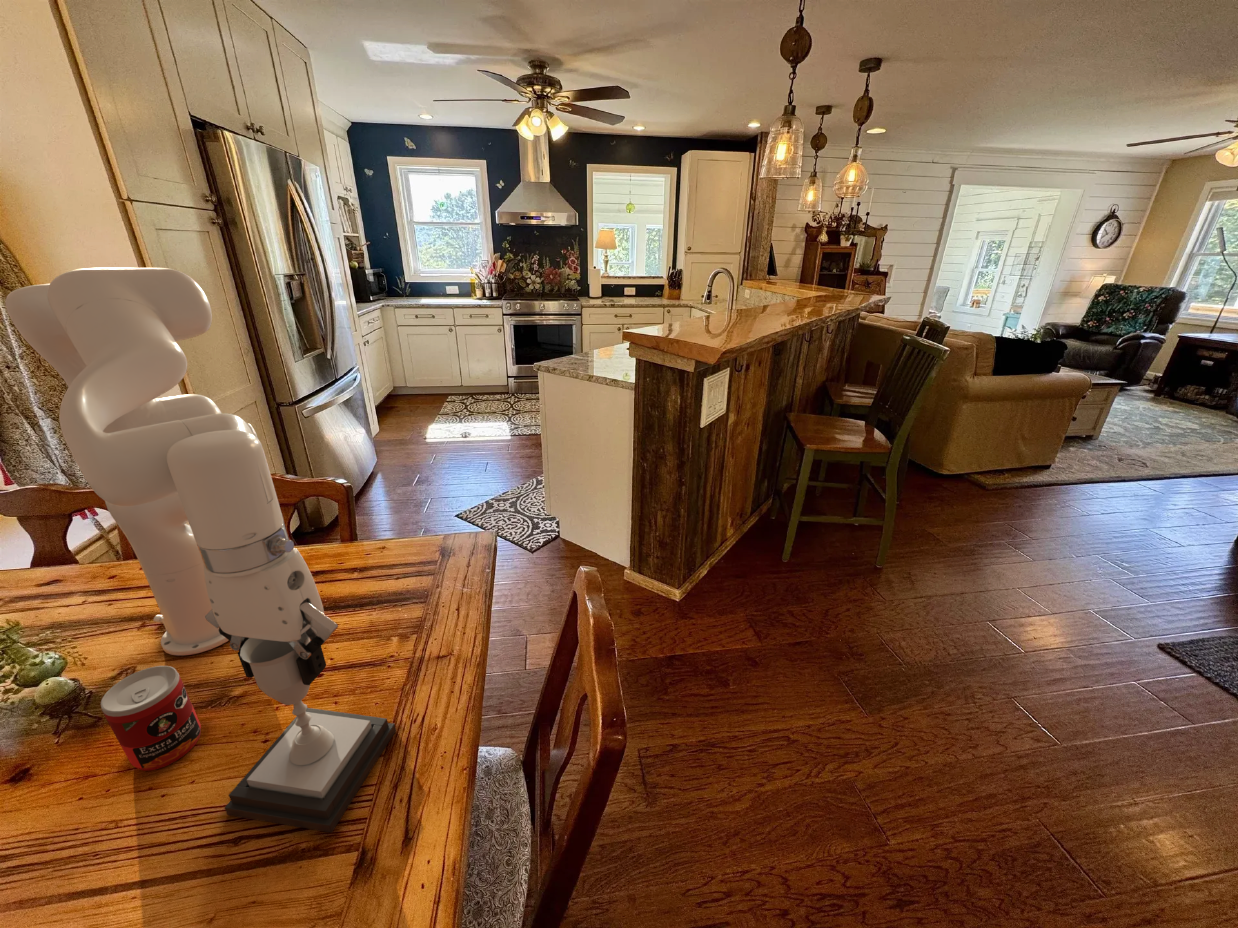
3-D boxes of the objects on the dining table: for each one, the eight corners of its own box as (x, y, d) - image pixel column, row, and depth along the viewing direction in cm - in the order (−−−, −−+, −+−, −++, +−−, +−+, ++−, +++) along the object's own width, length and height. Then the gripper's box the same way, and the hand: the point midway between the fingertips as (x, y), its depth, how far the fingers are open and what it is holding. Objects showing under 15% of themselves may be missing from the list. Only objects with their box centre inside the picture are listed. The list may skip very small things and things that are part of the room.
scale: (227, 814, 61) (220, 798, 59) (308, 718, 73) (303, 703, 72) (331, 832, 59) (326, 816, 58) (396, 730, 72) (392, 715, 70)
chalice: (313, 778, 61) (275, 667, 54) (266, 767, 62) (223, 657, 55) (353, 727, 67) (325, 622, 60) (310, 718, 68) (278, 614, 61)
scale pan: (249, 787, 61) (246, 779, 61) (307, 719, 70) (304, 711, 70) (323, 799, 60) (320, 791, 59) (372, 728, 69) (370, 720, 69)
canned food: (144, 783, 64) (111, 723, 60) (122, 753, 68) (90, 693, 64) (213, 739, 70) (188, 681, 66) (189, 713, 74) (164, 656, 70)
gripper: (344, 534, 55) (372, 657, 62) (206, 522, 57) (248, 642, 64) (294, 574, 48) (332, 707, 55) (139, 558, 50) (195, 688, 57)
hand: (287, 671), depth 59 cm, fingers closed on chalice, 6 cm apart
